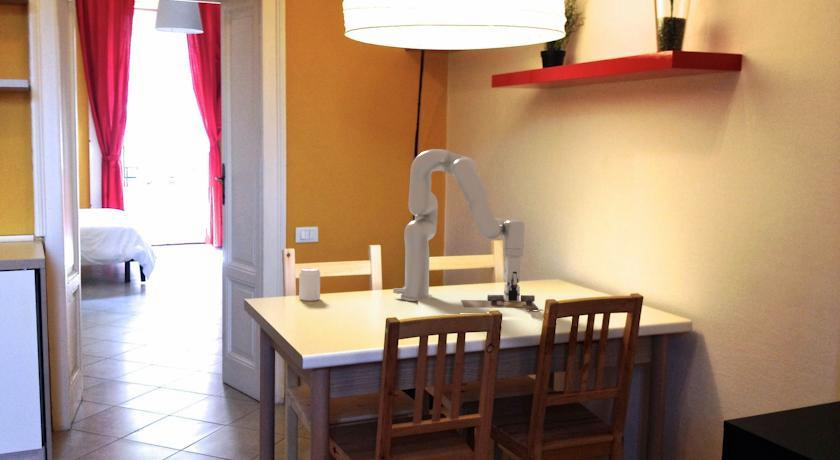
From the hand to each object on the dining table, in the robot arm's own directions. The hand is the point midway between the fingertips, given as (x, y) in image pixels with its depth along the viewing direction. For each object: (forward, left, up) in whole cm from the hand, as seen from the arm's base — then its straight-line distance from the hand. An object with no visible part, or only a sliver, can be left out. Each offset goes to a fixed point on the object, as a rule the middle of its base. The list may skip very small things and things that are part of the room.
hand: (511, 298), depth 306 cm
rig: (-5, 0, -3) cm, 6 cm away
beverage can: (-78, +9, -4) cm, 78 cm away
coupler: (0, 0, -1) cm, 1 cm away
